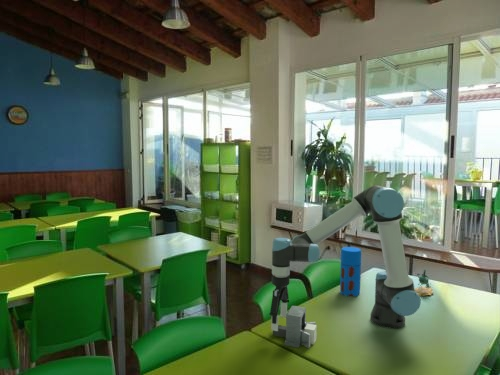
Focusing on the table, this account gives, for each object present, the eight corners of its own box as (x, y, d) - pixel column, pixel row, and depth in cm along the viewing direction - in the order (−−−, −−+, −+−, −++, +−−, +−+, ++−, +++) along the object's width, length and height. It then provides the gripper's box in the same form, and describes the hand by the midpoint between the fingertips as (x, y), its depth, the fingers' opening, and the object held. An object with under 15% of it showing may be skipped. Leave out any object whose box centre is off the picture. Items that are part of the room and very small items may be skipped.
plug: (316, 338, 156) (316, 325, 155) (313, 344, 151) (314, 330, 151) (275, 331, 163) (275, 317, 162) (271, 336, 158) (272, 322, 157)
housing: (316, 332, 161) (316, 306, 160) (309, 349, 147) (309, 321, 146) (293, 328, 164) (293, 303, 163) (284, 345, 151) (284, 317, 149)
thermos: (360, 297, 201) (362, 252, 199) (340, 295, 203) (341, 251, 201) (358, 290, 212) (360, 247, 210) (339, 288, 214) (340, 246, 212)
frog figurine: (441, 292, 209) (441, 267, 207) (422, 302, 200) (422, 276, 198) (426, 287, 218) (426, 263, 215) (406, 296, 209) (406, 271, 206)
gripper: (280, 265, 170) (279, 310, 171) (262, 282, 146) (261, 334, 148) (296, 267, 167) (294, 313, 169) (281, 285, 144) (279, 338, 146)
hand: (279, 323), depth 158 cm, fingers open, 13 cm apart
